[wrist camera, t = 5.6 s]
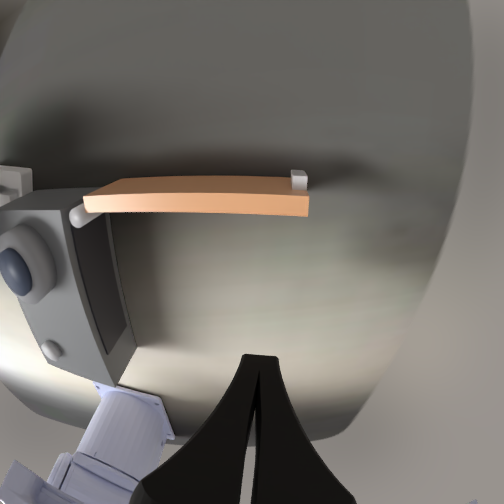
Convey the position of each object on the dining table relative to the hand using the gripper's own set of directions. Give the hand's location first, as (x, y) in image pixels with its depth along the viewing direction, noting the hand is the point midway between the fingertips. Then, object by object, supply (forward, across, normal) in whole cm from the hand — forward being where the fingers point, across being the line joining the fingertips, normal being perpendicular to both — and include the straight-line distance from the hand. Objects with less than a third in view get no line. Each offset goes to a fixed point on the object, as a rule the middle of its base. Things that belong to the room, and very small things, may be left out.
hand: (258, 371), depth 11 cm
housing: (+7, +13, +1) cm, 15 cm away
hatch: (+7, +4, -6) cm, 10 cm away
